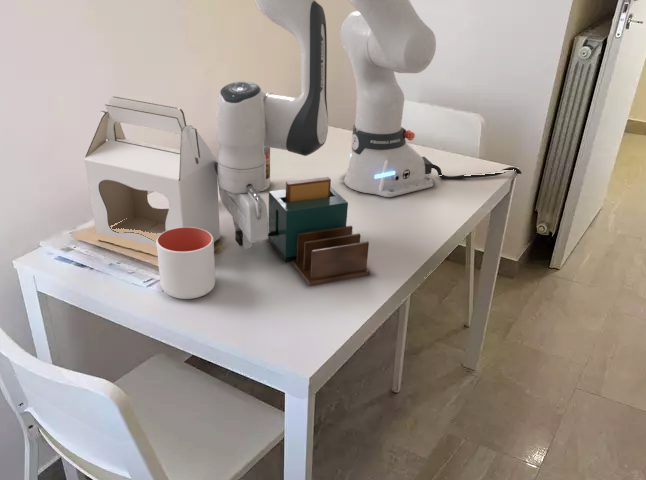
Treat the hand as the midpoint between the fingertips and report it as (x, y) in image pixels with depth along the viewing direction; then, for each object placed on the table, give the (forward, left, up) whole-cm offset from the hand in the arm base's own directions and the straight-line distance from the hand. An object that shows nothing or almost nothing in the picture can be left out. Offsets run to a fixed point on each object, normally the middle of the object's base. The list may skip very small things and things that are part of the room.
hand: (243, 241), depth 132 cm
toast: (-13, 0, +1) cm, 14 cm away
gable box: (+15, -12, -3) cm, 19 cm away
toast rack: (-14, +11, -3) cm, 18 cm away
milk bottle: (-13, -33, -3) cm, 36 cm away
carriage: (-9, 0, 0) cm, 9 cm away
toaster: (-13, 0, -3) cm, 14 cm away
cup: (+14, +9, -3) cm, 16 cm away
